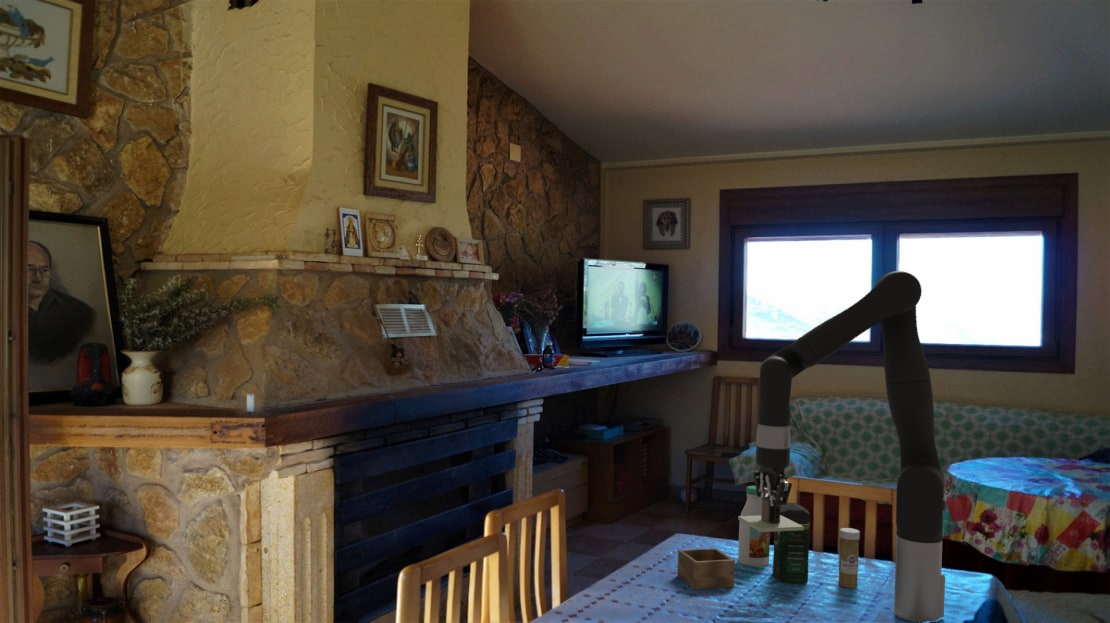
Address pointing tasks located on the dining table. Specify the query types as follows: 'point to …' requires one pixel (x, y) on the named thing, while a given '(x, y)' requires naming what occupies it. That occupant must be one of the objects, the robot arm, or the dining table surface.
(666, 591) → the dining table surface
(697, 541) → the dining table surface
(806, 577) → the coffee jar
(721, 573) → the box
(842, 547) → the sprinkles bottle
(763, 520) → the lid
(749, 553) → the milk bottle
